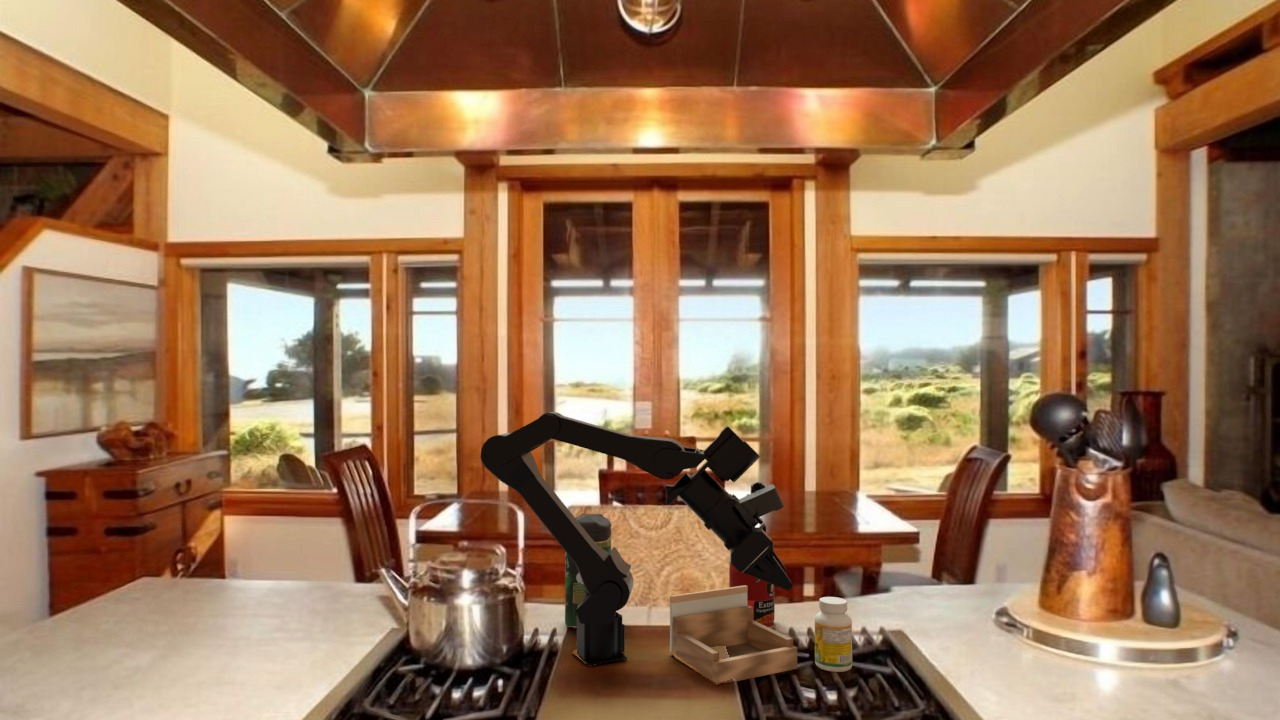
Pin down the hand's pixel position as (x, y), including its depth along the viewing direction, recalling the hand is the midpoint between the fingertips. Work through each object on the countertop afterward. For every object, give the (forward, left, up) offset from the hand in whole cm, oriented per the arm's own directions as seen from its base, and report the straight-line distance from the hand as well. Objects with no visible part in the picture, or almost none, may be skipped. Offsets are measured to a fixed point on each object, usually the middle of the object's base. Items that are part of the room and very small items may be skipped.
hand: (787, 579), depth 113 cm
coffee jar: (-19, +31, -13) cm, 38 cm away
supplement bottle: (+6, -4, -13) cm, 14 cm away
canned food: (+7, +19, -13) cm, 24 cm away
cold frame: (-7, +4, -12) cm, 15 cm away
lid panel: (-7, +11, -12) cm, 18 cm away
